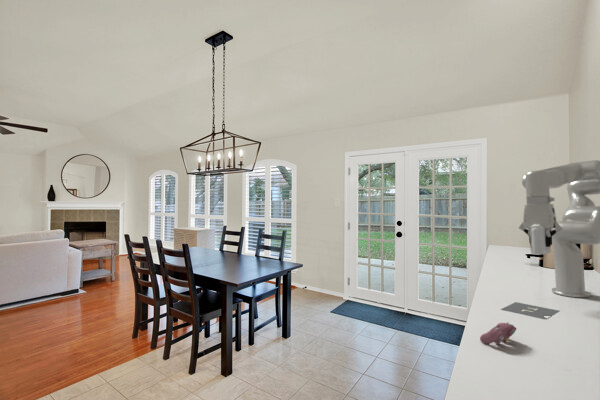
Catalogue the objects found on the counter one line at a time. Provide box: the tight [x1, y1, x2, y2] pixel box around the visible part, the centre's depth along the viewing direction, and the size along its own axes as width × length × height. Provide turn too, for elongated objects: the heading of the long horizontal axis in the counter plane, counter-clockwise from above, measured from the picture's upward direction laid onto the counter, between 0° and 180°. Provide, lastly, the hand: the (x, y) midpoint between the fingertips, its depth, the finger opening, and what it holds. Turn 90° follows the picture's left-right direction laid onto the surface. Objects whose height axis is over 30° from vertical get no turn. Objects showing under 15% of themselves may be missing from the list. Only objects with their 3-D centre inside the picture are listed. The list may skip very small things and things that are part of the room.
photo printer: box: [530, 224, 552, 256], centre depth 123 cm, size 10×4×12 cm, turn 124°
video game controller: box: [479, 322, 517, 345], centre depth 88 cm, size 10×5×7 cm, turn 118°
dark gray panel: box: [500, 301, 560, 320], centre depth 114 cm, size 14×14×1 cm
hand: (540, 245), depth 123 cm, fingers closed on photo printer, 4 cm apart
